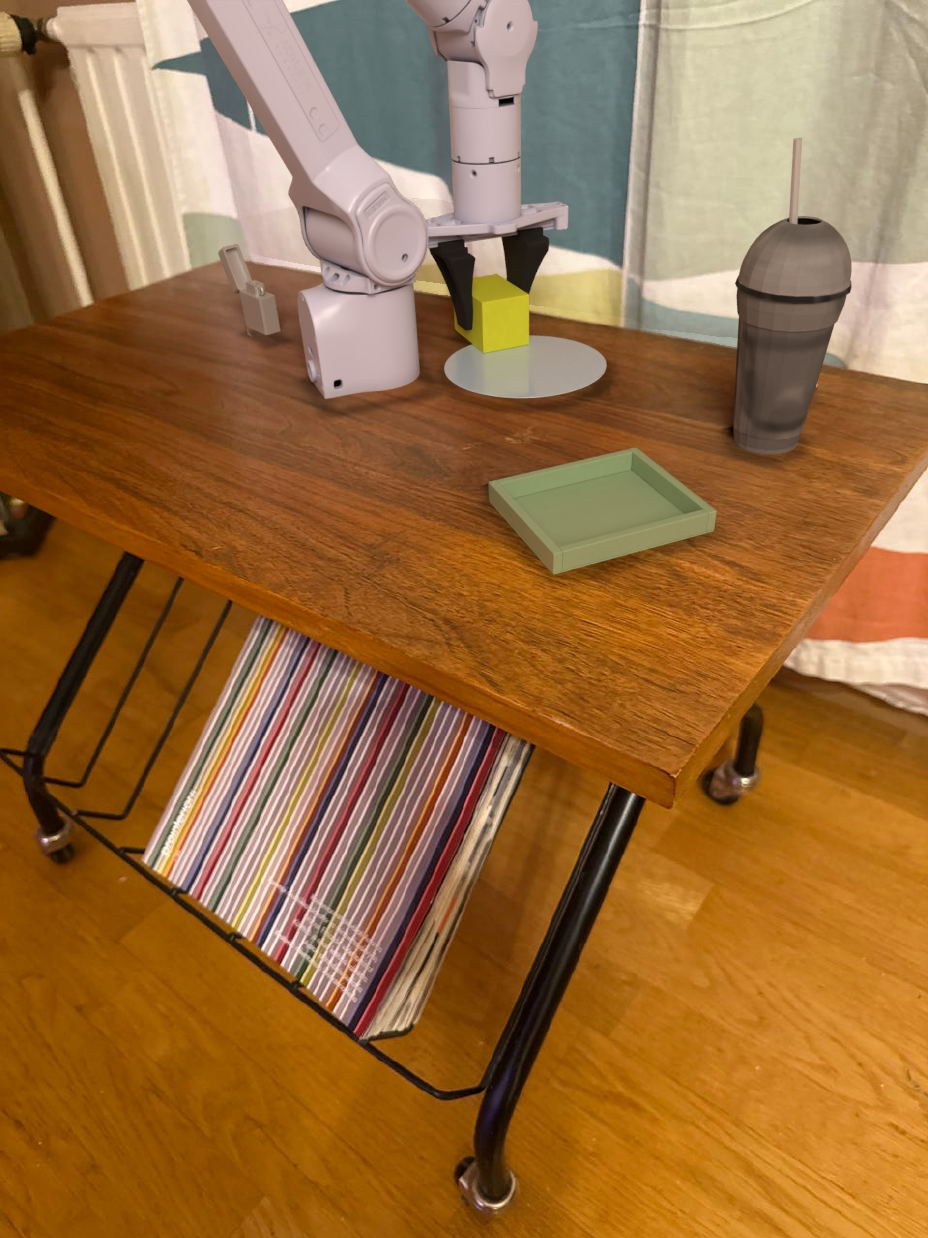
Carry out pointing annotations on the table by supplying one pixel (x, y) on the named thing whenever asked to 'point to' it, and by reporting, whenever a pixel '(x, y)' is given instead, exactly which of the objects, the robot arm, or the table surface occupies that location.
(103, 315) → the table surface
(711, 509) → the sponge dish
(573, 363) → the plate
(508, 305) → the sponge
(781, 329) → the beverage cup
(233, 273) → the lighter
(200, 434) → the table surface
